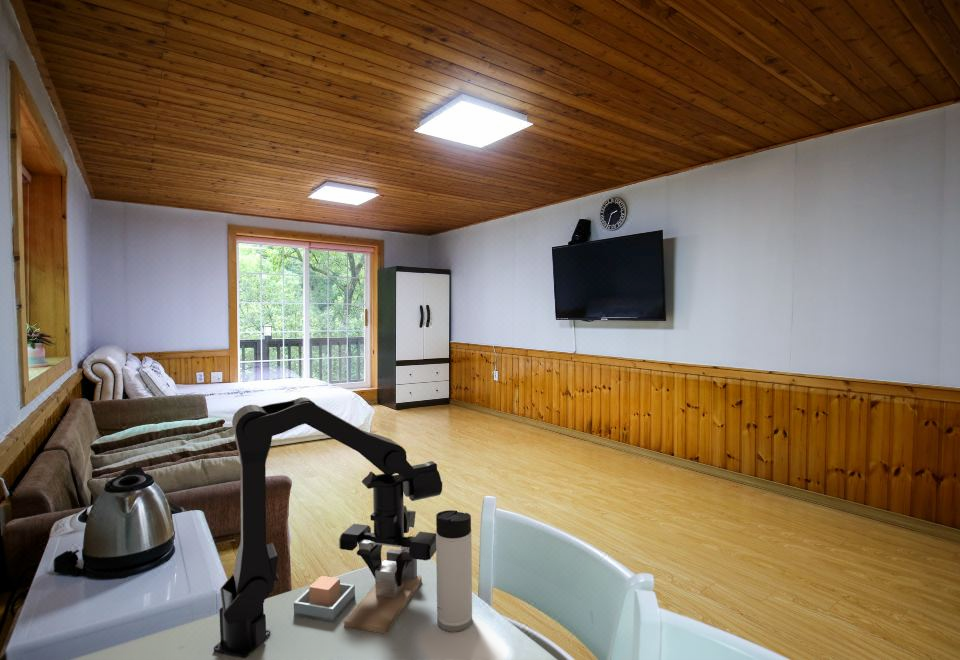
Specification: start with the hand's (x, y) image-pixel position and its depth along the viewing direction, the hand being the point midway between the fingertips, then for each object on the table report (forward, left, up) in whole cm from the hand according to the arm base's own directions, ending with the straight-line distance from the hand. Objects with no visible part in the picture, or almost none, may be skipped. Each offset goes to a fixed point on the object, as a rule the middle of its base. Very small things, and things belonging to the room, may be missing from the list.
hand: (389, 583), depth 99 cm
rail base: (0, -2, -2) cm, 3 cm away
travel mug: (+15, -4, -3) cm, 15 cm away
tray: (-10, -6, -2) cm, 12 cm away
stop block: (-10, -6, -2) cm, 12 cm away
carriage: (0, 0, -2) cm, 2 cm away
